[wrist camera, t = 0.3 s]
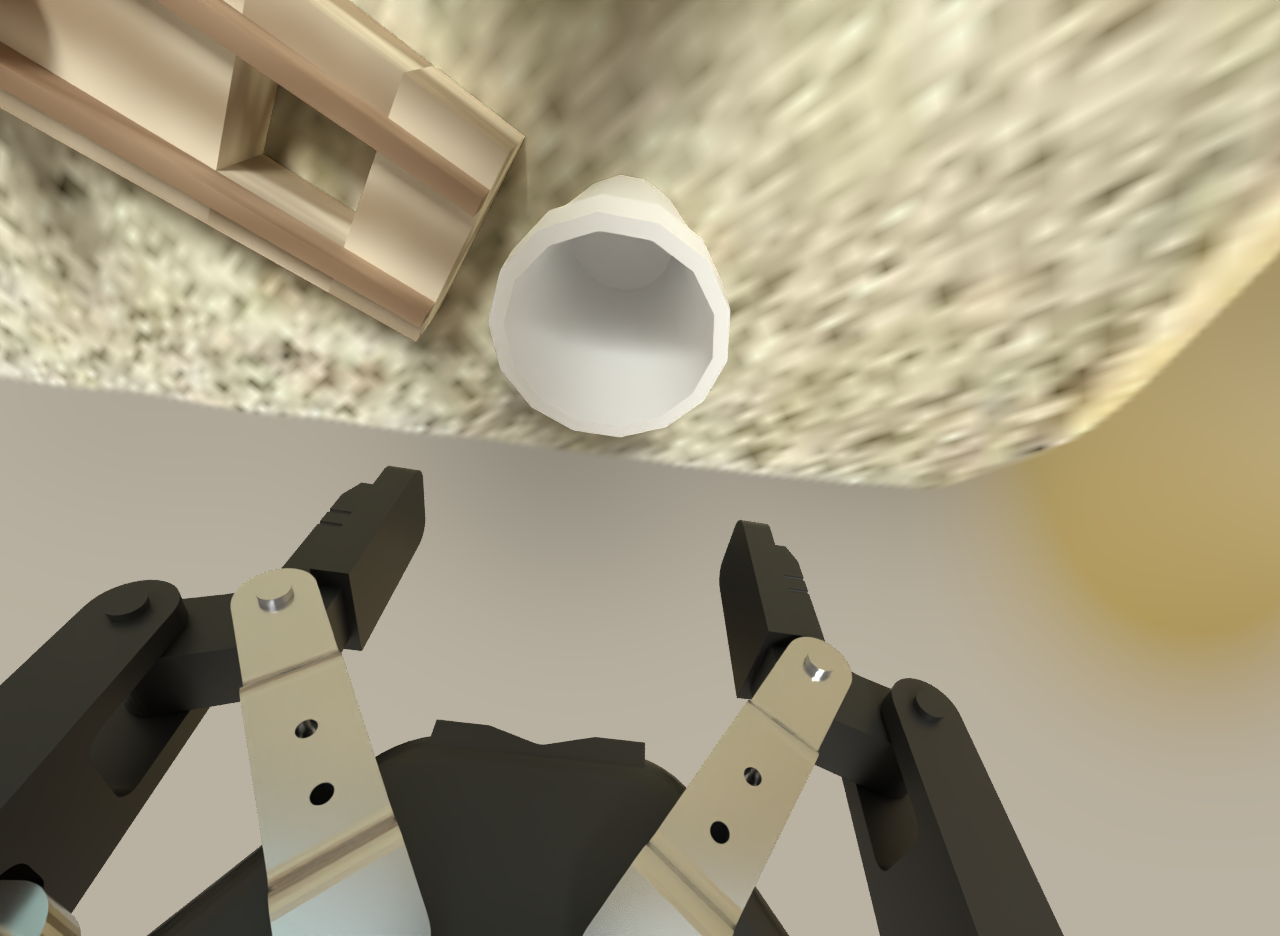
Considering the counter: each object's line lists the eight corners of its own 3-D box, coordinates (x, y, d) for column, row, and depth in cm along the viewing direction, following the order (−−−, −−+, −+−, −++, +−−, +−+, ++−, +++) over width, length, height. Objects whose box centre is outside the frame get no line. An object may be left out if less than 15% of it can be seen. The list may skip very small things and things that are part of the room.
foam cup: (730, 270, 32) (764, 385, 22) (599, 336, 35) (578, 464, 25) (657, 102, 26) (658, 155, 17) (510, 199, 29) (437, 292, 20)
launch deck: (-338, -531, 16) (-678, -717, 12) (525, 136, 27) (502, 158, 23) (-223, -79, 23) (-420, -100, 19) (437, 312, 34) (407, 354, 30)
